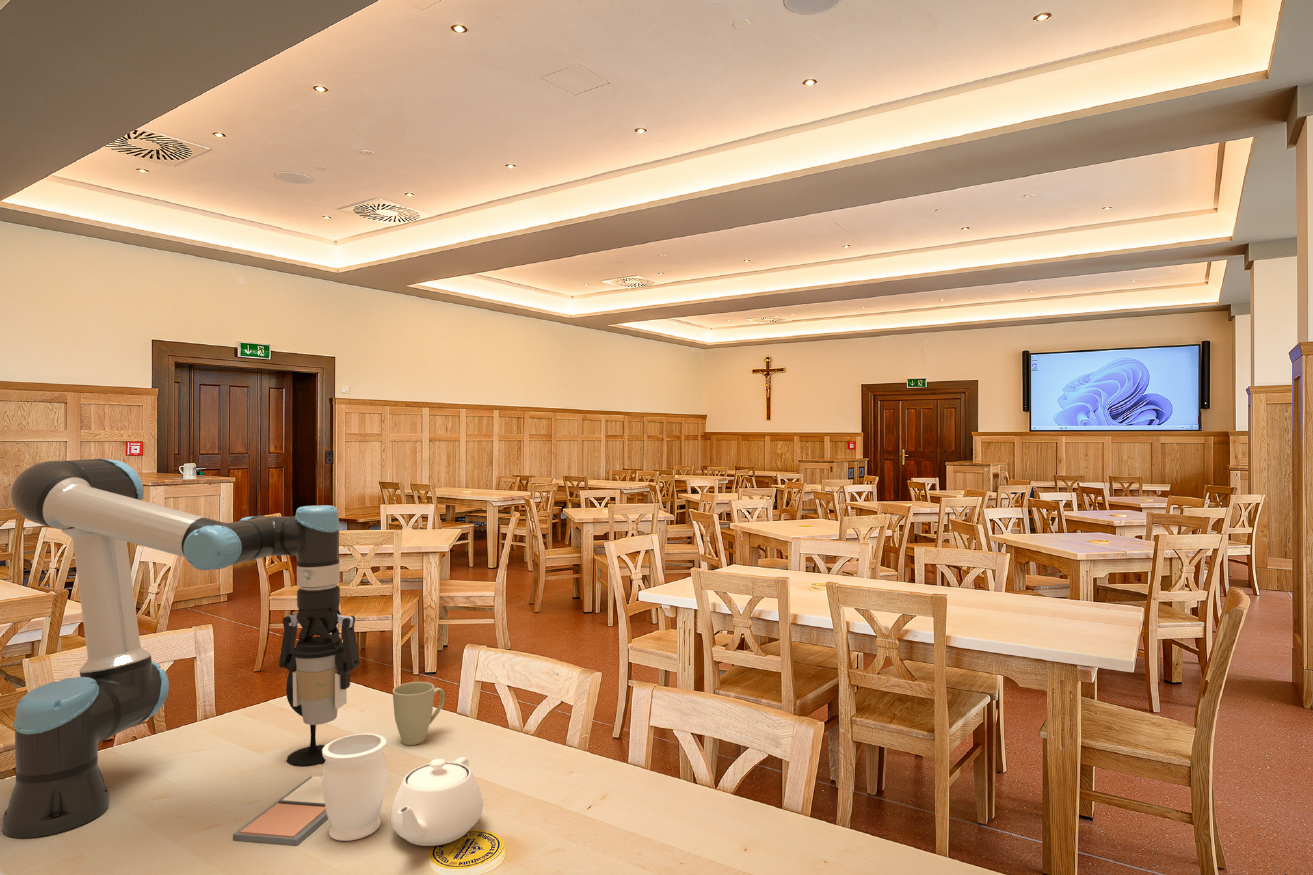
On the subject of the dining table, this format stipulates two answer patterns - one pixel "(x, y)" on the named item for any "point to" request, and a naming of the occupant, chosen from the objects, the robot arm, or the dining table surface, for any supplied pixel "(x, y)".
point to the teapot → (437, 803)
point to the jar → (354, 784)
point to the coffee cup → (317, 679)
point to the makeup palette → (288, 817)
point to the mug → (415, 710)
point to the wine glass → (313, 752)
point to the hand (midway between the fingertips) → (319, 704)
